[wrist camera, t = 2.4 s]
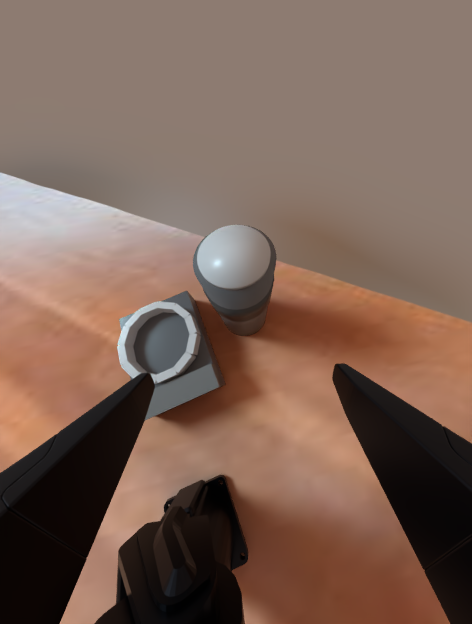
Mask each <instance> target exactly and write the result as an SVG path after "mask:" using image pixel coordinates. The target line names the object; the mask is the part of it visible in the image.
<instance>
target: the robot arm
mask: <svg viewBox="0 0 472 624" xmlns="http://www.w3.org/2000/svg"><path fill="white" fill-rule="evenodd" d="M332 379H333V383H334V385H335V388H336V391H337V393H338V396H339V398H340V401H341V404H342V406H343V409H344V411H345V414H346V416H347V418H348V420H349V422H350V424H351V426H352V428H353V430H354V432H355V434H356V436H357V438H358V440H359V442H360V444H361V446H362V448H363V450H364V452H365V454H366V456H367V458H368V460H369V462H370V464H371V466H372V468H373V470H374V472H375V474H376V476H377V478H378V480H379V482H380V484H381V486H382V488H383V490H384V492H385V494H386V496H387V498H388V500H389V502H390V504H391V506H392V508H393V510H394V512H395V514H396V516H397V518H398V520H399V522H400V524H401V526H402V528H403V530H404V532H405V534H406V536H407V538H408V540H409V542H410V544H411V546H412V548H413V550H414V552H415V554H416V556H417V558H418V560H419V562H420V564H421V566H422V568H423V569H424V570H425V574H426V576H427V578H428V580H429V582H430V584H431V586H432V588H433V590H434V592H435V594H436V596H437V598H438V600H439V602H440V604H441V606H442V608H443V610H444V612H445V614H446V616H447V618H448V620H449V622H450V624H472V443H470V442H468V441H467V440H465V439H463V438H462V437H460V436H459V435H457V434H455V433H454V432H452V431H451V430H449V429H448V428H446V427H442V425H441V424H440V423H438V422H436V421H435V420H433V419H432V418H430V417H429V416H427V415H425V414H424V413H422V412H421V411H419V410H418V409H416V408H414V407H413V406H411V405H410V404H408V403H407V402H405V401H403V400H402V399H400V398H399V397H397V396H396V395H394V394H392V393H391V392H389V391H388V390H386V389H385V388H383V387H381V386H380V385H378V384H377V383H375V382H374V381H372V380H370V379H369V378H367V377H366V376H364V375H362V374H361V373H359V372H358V371H356V370H355V369H353V368H351V367H350V366H348V365H347V364H344V363H342V364H335V366H334V371H333V377H332ZM154 389H155V383H154V381H153V378H152V376H151V374H150V373H140V374H139V375H137V376H136V377H135V378H133V379H132V380H131V381H129V382H128V383H126V384H125V385H124V386H122V387H121V388H119V389H118V390H117V391H115V392H114V393H113V394H111V395H110V396H108V397H107V398H106V399H104V400H103V401H101V402H100V403H99V404H97V405H96V406H95V407H93V408H92V409H90V410H89V411H88V412H86V413H85V414H84V415H82V416H81V417H79V418H78V419H77V420H75V421H74V422H72V423H71V424H70V425H68V426H67V427H66V428H64V429H63V430H61V431H60V432H59V433H58V434H56V435H54V436H53V437H52V438H50V439H49V440H48V441H46V442H45V443H43V444H42V445H41V446H39V447H38V448H36V449H35V450H33V451H32V452H31V453H29V454H28V455H26V456H25V457H23V458H22V459H20V460H19V461H17V462H16V463H15V464H13V465H12V466H10V467H9V468H7V469H6V470H4V471H3V472H1V473H0V624H59V623H60V621H61V619H62V616H63V614H64V612H65V609H66V607H67V604H68V602H69V600H70V597H71V595H72V593H73V590H74V588H75V585H76V583H77V581H78V578H79V576H80V574H81V571H82V569H83V566H84V564H85V562H86V558H87V556H88V554H89V552H90V549H91V547H92V545H93V542H94V540H95V537H96V535H97V533H98V530H99V528H100V526H101V523H102V521H103V518H104V516H105V514H106V511H107V509H108V507H109V504H110V502H111V499H112V497H113V495H114V492H115V490H116V487H117V485H118V483H119V480H120V478H121V476H122V473H123V471H124V468H125V466H126V464H127V461H128V459H129V457H130V454H131V452H132V449H133V447H134V445H135V442H136V440H137V438H138V435H139V433H140V430H141V428H142V426H143V423H144V421H145V418H146V415H147V412H148V409H149V405H150V402H151V399H152V396H153V393H154ZM219 480H222V481H223V484H220V483H219ZM168 504H170V506H168ZM164 512H165V514H164V516H163V517H162V519H161V521H158V522H151V523H147V524H145V525H144V526H143V527H142V528H140V529H139V530H138V531H137V532H136V533H135V534H134V535H133V536H132V537H131V538H130V539H129V540H127V541H126V542H125V543H124V544H123V545H122V546H121V547H120V549H119V551H118V573H117V594H116V605H115V606H113V607H112V608H111V609H110V610H108V611H107V612H106V613H104V614H103V615H102V616H101V617H100V618H99V619H98V620H97V621H96V623H95V624H245V621H244V612H243V603H242V595H241V591H240V588H239V585H238V583H237V580H236V577H235V576H234V574H233V573H232V572H231V571H232V570H233V569H235V568H237V567H239V566H241V565H243V564H245V563H246V562H247V560H248V549H247V545H246V542H245V539H244V536H243V533H242V529H241V526H240V523H239V520H238V517H237V513H236V510H235V507H234V504H233V501H232V497H231V494H230V491H229V488H228V485H227V481H226V478H225V477H224V476H223V475H219V476H216V477H214V478H212V479H210V480H208V481H206V482H205V481H203V480H200V481H198V482H196V483H194V484H192V485H190V486H187V487H185V488H183V489H181V490H180V491H179V492H178V494H177V495H176V496H174V497H172V498H170V499H168V500H167V502H166V503H165V505H164ZM241 552H243V553H244V554H245V555H244V556H242V555H241V554H240V553H241Z"/></svg>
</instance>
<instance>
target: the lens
mask: <svg viewBox="0 0 472 624" xmlns="http://www.w3.org/2000/svg"><path fill="white" fill-rule="evenodd" d="M275 265H276V252H275V248H274V245H273V243H272V242H271V240H270V239H269V238H268V237H267V236H266V235H265V234H264V233H263V232H261V231H260V230H258V229H256V228H253V227H250V226H245V225H230V226H225V227H222V228H219V229H217V230H215V231H213V232H212V233H210V234H209V235H207V236H206V237H205V238H204V239H203V240H202V241H201V242H200V244H199V245H198V247H197V249H196V251H195V254H194V258H193V268H194V272H195V275H196V277H197V279H198V281H199V282H200V284H201V285H202V287H203V290H204V292H205V294H206V296H207V298H208V299H209V301H210V302H211V304H212V306H213V307H214V309H215V310H216V311H217V312H218V314H219V315H220V316H221V318H222V320H223V321H224V323H225V325H226V326H227V328H228V329H229V330H230V331H231V332H233V333H235V334H237V335H241V336H248V335H252V334H254V333H256V332H257V331H259V330H260V329H261V327H262V326H263V324H264V322H265V318H266V313H267V307H268V304H269V301H270V297H271V292H272V288H273V282H274V270H275Z"/></svg>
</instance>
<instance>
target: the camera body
mask: <svg viewBox="0 0 472 624" xmlns="http://www.w3.org/2000/svg"><path fill="white" fill-rule="evenodd" d="M139 310H140V311H139ZM139 310H137V311H136V312H135V313H133V314H130V315H128V316H126V317H123V318H121V319H119V320H120V326H121V331H122V332H121V335H120V338H119V341H118V344H117V345H119V346H117V349H118V354H119V360H120V365H122V366H121V367H122V368H123V369H124V370H125V371H126V372H127V373H128V374H129V375H130V378H131V380H132V379H133V378H135V377H136V376H137V375H139V374H140V373H150V374H151V376H152V378H153V381H154V383H155V389H154V393H153V396H152V399H151V402H150V405H149V409H148V412H147V415H146V418H145V420H147V419H150V418H152V417H154V416H156V415H159V414H161V413H163V412H165V411H168V410H170V409H172V408H174V407H176V406H179V405H181V404H183V403H185V402H188V401H190V400H192V399H194V398H196V397H199V396H201V395H203V394H205V393H208V392H210V391H212V390H214V389H217V388H219V387H221V386H223V385H225V381H224V379H223V376H222V373H221V370H220V368H219V365H218V362H217V360H216V357H215V354H214V351H213V349H212V346H211V343H210V341H209V338H208V335H207V332H206V330H205V327H204V324H203V322H202V319H201V316H200V313H199V311H198V308H197V305H196V303H195V300H194V299H193V297H192V296H191V295H190V294H189V293H188V291H185V292H182V293H180V294H178V295H175V296H173V297H171V298H168V299H166V300H164V301H161V302H159V301H158V303H157V302H154V303H152V304H150V305H147V306H145V307H142V308H140V309H139Z"/></svg>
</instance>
